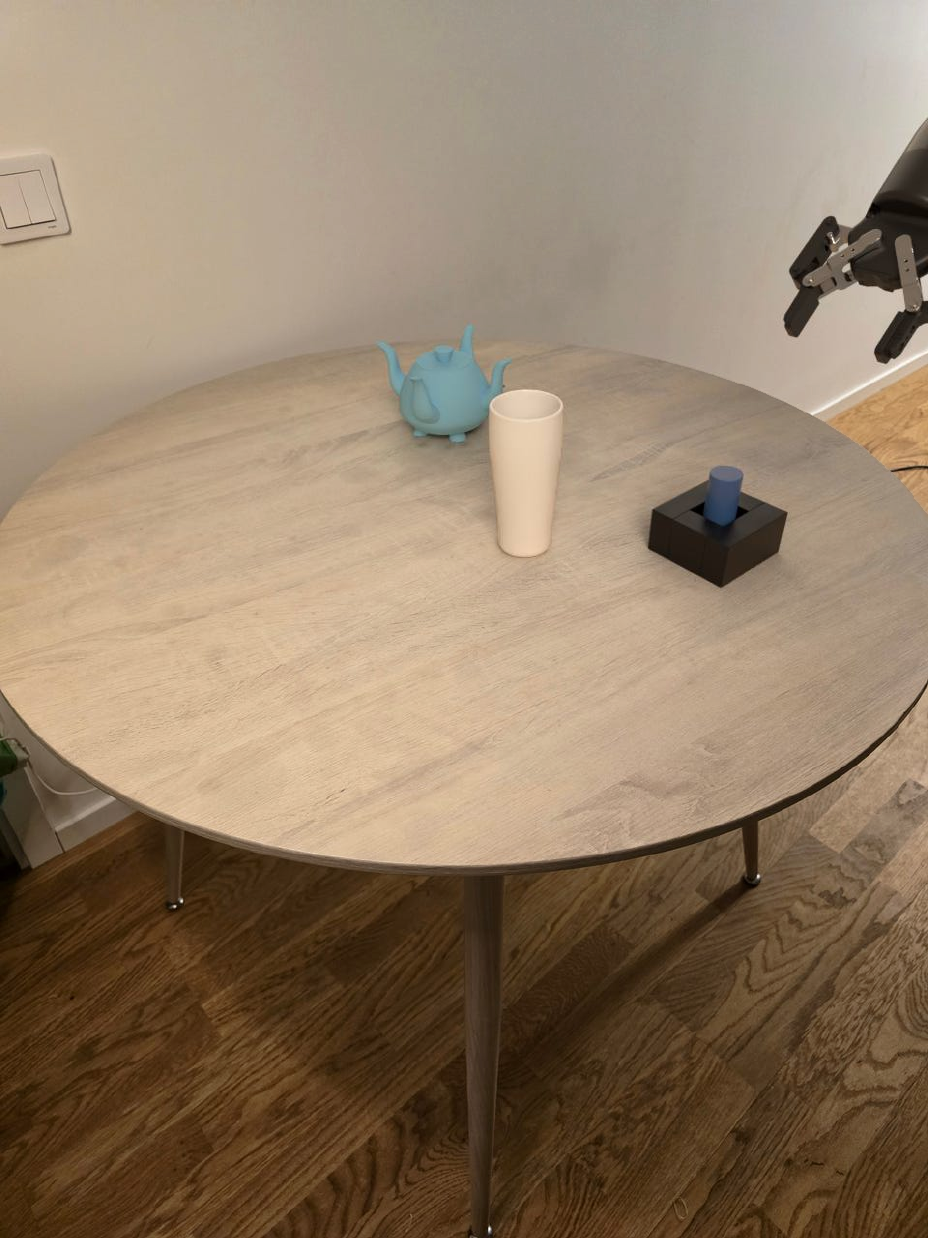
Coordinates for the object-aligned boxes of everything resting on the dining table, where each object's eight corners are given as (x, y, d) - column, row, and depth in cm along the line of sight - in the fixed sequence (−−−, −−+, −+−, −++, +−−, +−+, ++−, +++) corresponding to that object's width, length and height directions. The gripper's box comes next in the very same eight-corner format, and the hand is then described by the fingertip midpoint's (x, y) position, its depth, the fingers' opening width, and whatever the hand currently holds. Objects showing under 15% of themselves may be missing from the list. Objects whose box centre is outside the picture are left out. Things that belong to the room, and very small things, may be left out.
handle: (733, 558, 83) (749, 480, 78) (702, 560, 83) (715, 482, 78) (723, 540, 86) (737, 463, 80) (692, 542, 85) (705, 466, 80)
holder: (778, 551, 84) (788, 512, 81) (721, 588, 79) (729, 547, 77) (704, 516, 89) (711, 477, 86) (647, 548, 85) (651, 509, 82)
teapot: (414, 460, 101) (407, 377, 95) (380, 414, 111) (372, 337, 104) (514, 438, 104) (515, 357, 98) (474, 396, 114) (472, 320, 108)
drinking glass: (523, 572, 82) (525, 428, 73) (476, 544, 86) (472, 404, 77) (572, 545, 86) (580, 403, 76) (524, 519, 90) (526, 382, 81)
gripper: (853, 134, 74) (749, 301, 75) (1027, 155, 65) (904, 344, 66) (871, 192, 80) (774, 345, 81) (1032, 217, 71) (920, 390, 72)
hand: (833, 344), depth 74 cm, fingers open, 8 cm apart
